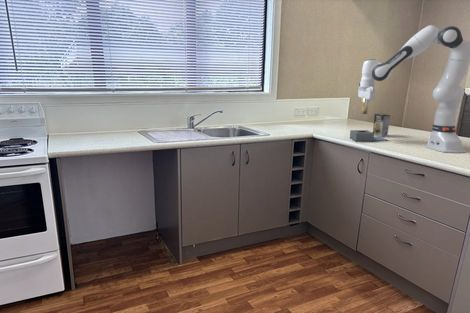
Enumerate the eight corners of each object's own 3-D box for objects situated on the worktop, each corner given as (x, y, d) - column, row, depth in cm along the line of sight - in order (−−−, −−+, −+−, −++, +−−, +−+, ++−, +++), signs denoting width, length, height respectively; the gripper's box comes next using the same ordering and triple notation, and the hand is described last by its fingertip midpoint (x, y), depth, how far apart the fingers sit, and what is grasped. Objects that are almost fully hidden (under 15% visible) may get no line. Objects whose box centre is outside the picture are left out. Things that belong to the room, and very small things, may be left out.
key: (368, 114, 228) (370, 96, 225) (362, 114, 228) (364, 96, 225) (365, 113, 232) (367, 95, 229) (360, 113, 232) (362, 95, 229)
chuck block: (373, 141, 229) (374, 133, 228) (355, 141, 229) (356, 133, 227) (366, 138, 241) (367, 130, 239) (349, 138, 241) (350, 130, 239)
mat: (387, 140, 232) (387, 139, 232) (373, 141, 232) (373, 139, 232) (379, 137, 244) (380, 136, 244) (366, 137, 244) (366, 136, 243)
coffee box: (372, 135, 254) (374, 113, 250) (378, 134, 256) (381, 113, 252) (381, 137, 245) (383, 115, 241) (387, 136, 248) (390, 114, 244)
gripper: (378, 85, 215) (376, 107, 219) (366, 83, 235) (364, 103, 238) (369, 85, 215) (366, 107, 219) (357, 83, 235) (355, 103, 238)
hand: (365, 105), depth 229 cm, fingers closed on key, 4 cm apart
